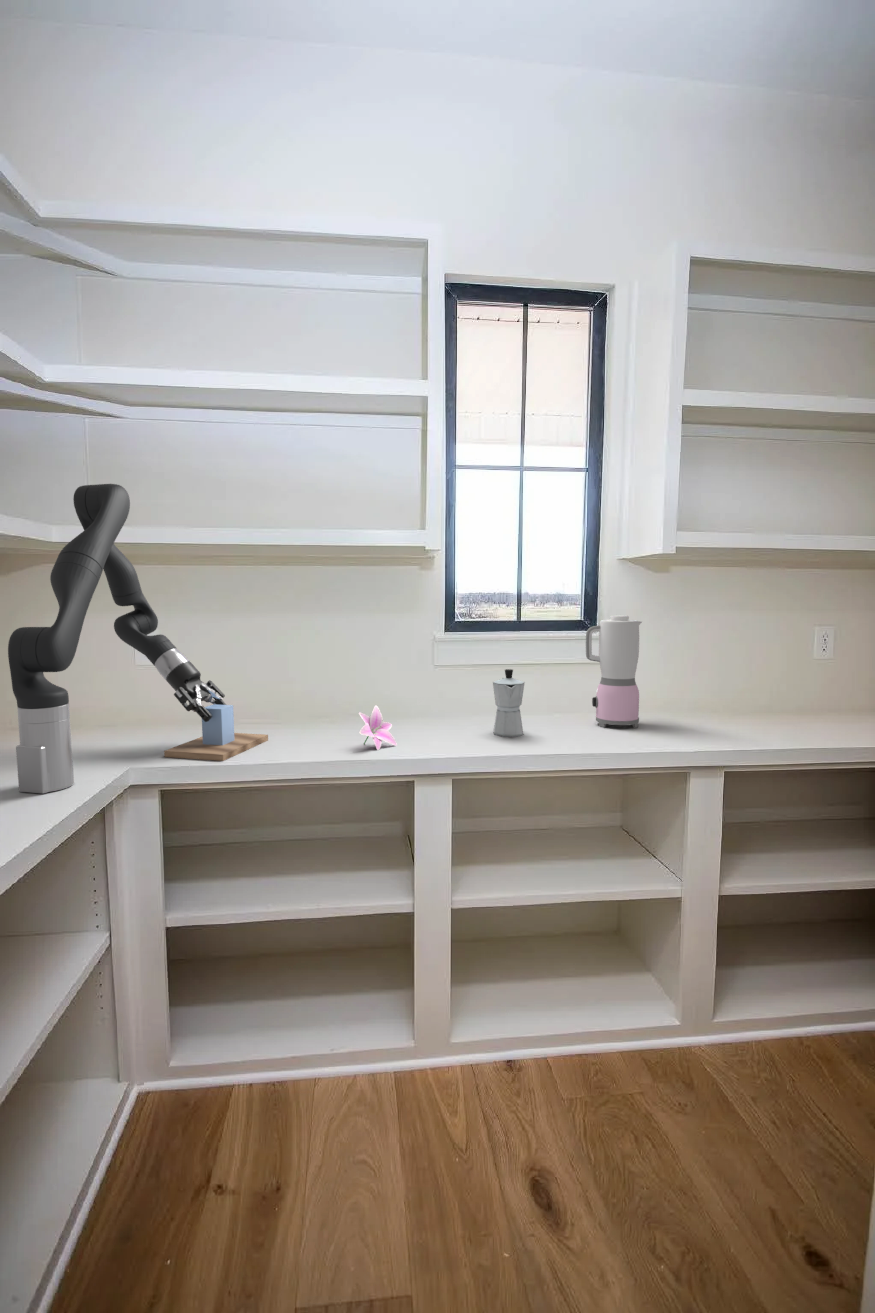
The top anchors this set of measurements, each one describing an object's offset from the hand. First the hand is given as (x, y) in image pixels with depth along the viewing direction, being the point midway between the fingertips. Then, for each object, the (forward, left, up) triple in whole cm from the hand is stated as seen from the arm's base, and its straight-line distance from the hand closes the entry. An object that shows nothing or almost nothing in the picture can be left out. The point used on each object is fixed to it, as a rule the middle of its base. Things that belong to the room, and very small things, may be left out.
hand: (219, 716), depth 174 cm
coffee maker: (+35, -69, -9) cm, 78 cm away
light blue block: (0, +1, -7) cm, 7 cm away
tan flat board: (0, 0, -8) cm, 8 cm away
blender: (+52, -97, -8) cm, 110 cm away
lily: (+11, -38, -9) cm, 41 cm away
